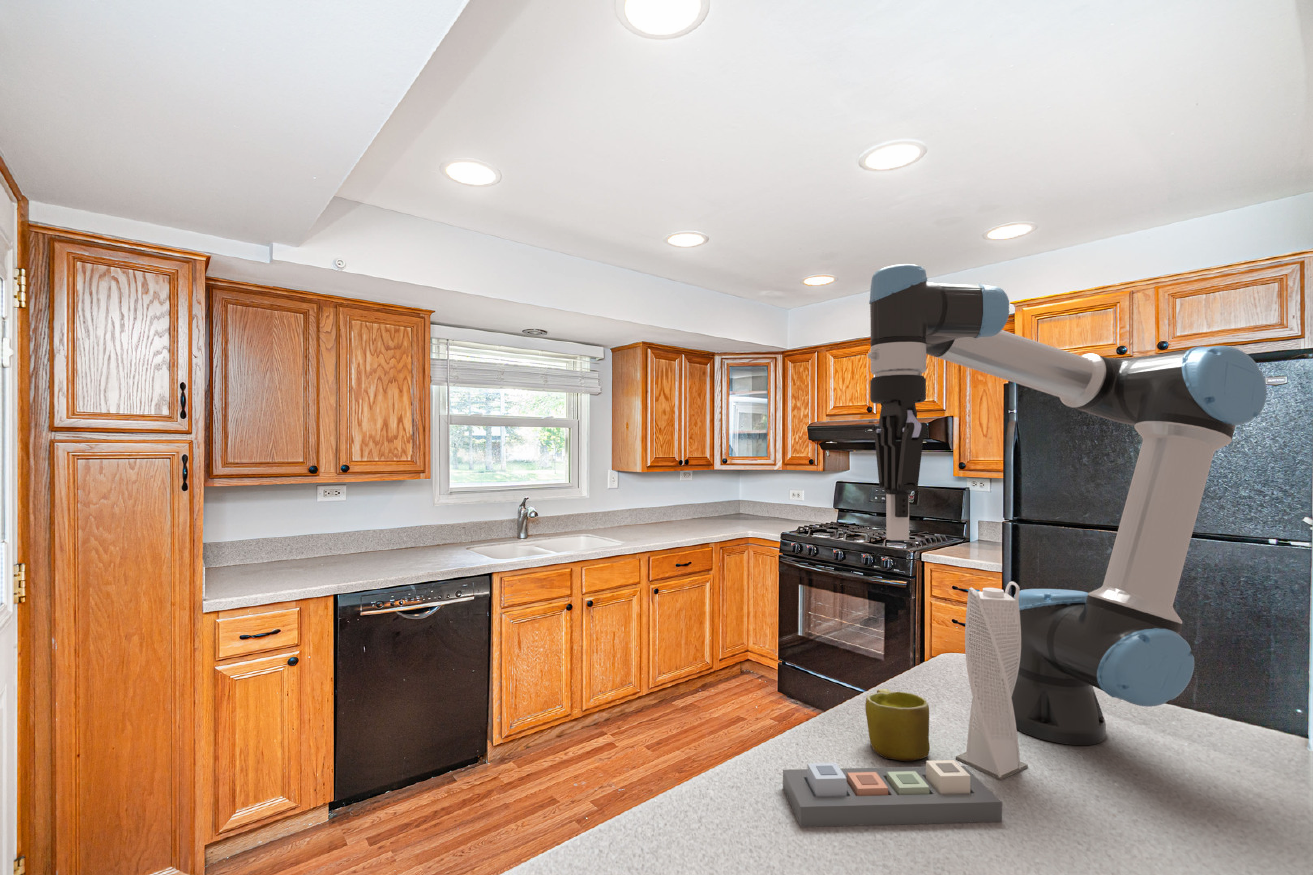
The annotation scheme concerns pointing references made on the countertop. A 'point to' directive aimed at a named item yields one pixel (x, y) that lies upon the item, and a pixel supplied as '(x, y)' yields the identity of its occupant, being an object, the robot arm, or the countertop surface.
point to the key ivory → (947, 777)
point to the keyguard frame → (889, 803)
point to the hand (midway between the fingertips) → (897, 539)
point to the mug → (898, 725)
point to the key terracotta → (866, 784)
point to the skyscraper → (993, 680)
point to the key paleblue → (826, 780)
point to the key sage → (907, 783)
